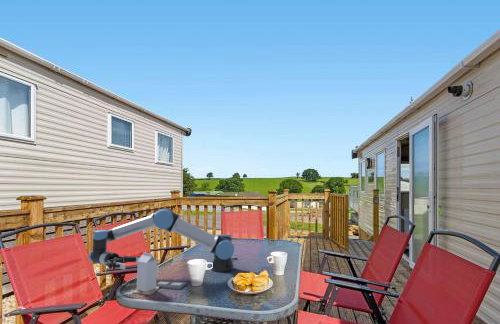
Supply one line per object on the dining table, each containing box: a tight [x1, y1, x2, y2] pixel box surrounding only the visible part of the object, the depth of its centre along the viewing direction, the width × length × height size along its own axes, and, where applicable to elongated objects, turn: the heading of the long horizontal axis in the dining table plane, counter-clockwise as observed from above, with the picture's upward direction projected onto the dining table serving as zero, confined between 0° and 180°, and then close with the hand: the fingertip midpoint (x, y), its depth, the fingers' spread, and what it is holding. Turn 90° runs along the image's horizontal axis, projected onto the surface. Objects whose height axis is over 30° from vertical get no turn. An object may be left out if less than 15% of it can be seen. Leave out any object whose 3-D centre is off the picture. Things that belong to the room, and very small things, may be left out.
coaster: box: [132, 287, 160, 296], centre depth 166 cm, size 10×10×1 cm
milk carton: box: [136, 251, 158, 292], centre depth 166 cm, size 7×7×19 cm
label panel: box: [156, 280, 187, 290], centre depth 174 cm, size 16×9×1 cm, turn 81°
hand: (134, 263), depth 171 cm, fingers open, 13 cm apart
